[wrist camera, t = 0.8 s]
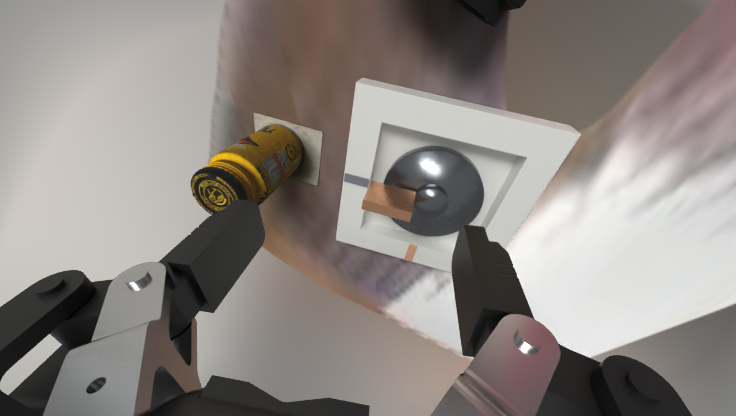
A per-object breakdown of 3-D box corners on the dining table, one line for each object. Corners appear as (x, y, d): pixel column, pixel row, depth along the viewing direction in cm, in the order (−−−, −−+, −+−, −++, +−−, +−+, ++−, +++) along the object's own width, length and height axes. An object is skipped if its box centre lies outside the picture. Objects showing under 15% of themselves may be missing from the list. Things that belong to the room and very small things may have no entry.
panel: (569, 125, 25) (582, 135, 23) (480, 267, 37) (483, 282, 34) (362, 77, 26) (355, 82, 24) (341, 228, 38) (335, 240, 36)
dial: (500, 160, 27) (513, 190, 22) (460, 238, 34) (463, 274, 29) (383, 131, 28) (371, 154, 23) (366, 213, 35) (354, 243, 30)
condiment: (254, 112, 31) (171, 152, 21) (323, 131, 31) (269, 181, 21) (258, 167, 35) (189, 220, 26) (318, 184, 35) (271, 246, 25)
